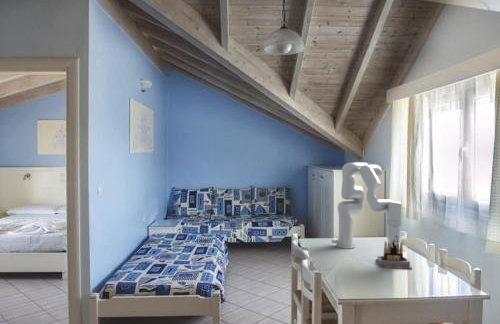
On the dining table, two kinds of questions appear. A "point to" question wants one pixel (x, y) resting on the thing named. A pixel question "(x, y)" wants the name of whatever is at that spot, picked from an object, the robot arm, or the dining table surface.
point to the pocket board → (393, 263)
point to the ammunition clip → (388, 252)
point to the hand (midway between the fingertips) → (393, 253)
